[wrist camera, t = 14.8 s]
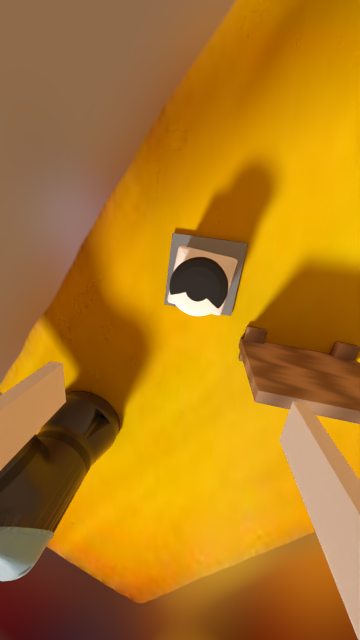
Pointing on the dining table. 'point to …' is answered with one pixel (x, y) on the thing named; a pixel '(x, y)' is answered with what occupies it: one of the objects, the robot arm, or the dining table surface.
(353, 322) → the dining table surface
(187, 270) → the medicine bottle
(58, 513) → the robot arm
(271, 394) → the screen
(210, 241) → the coaster
